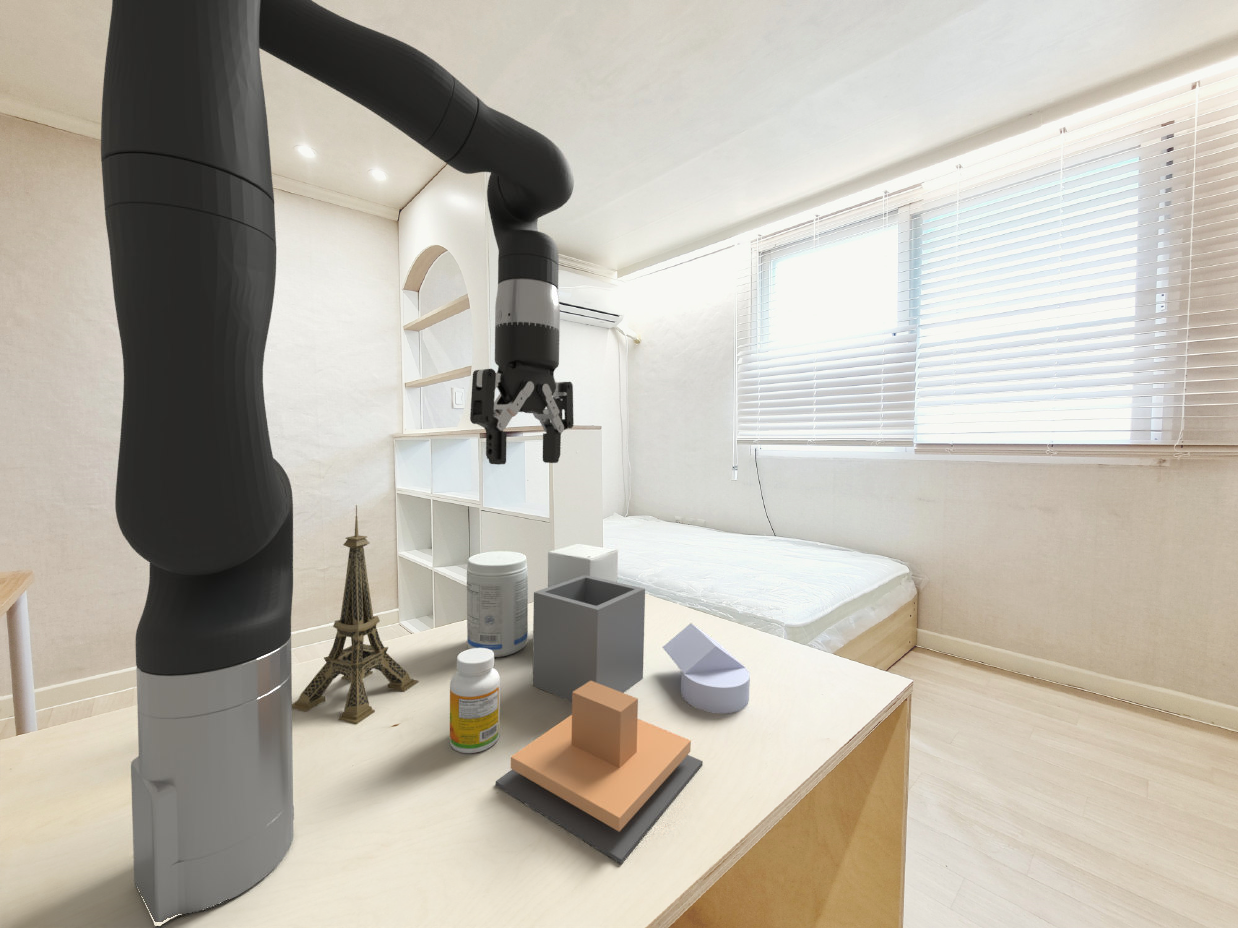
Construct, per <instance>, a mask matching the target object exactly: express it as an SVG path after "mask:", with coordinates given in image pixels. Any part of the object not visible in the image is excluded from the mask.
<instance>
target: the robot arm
mask: <svg viewBox="0 0 1238 928" xmlns="http://www.w3.org/2000/svg"><path fill="white" fill-rule="evenodd" d="M111 2H112V3H111V4H112V5H111V14H110V21H109V29H108V38H107V47H106V55H105V63H104V72H103V73H104V75H103V86H102V98H101V99H102V100H101V117H100V118H101V123H100V125H101V127H100V128H101V129H100V159H101V175H102V190H103V191H102V192H103V203H104V216H105V224H106V225H105V227H106V233H107V239H108V240H107V241H108V247H109V257H110V258H109V259H110V269H111V271H110V272H111V280H112V291H113V298H114V300H113V301H114V306H115V313H116V320H117V326H118V327H117V328H118V331H119V338H120V345H121V354H122V363H123V364H122V365H123V366H122V369H123V397H122V398H123V399H122V410H121V411H122V412H121V425H120V438H119V449H118V461H117V472H116V483H115V495H114V497H115V499H114V500H115V501H114V502H115V505H114V506H115V507H114V509H115V514H116V515H115V516H116V519H117V523H118V527H119V529H120V531H121V534H122V535H123V537H124V538H125V540H126V541H127V543H128V544H129V546H130V547H131V549H133V551H135V552H136V553H137V555H139V556H140V557H141V558H143V559H144V560H146V561H147V563H149V575H148V576H149V578H148V580H149V581H148V582H149V583H148V588H147V594H146V599H145V604H144V606H143V607H144V608H143V610H142V614H141V616H140V619H139V622H138V624H137V628H136V632H135V645H134V646H135V665H136V669H135V670H136V694H137V695H136V699H137V732H138V733H137V738H138V740H137V741H138V743H137V744H138V756H137V757H135V758H134V759H133V760H132V761H131V762H130V763H131V764H130V781H131V783H130V785H131V786H130V787H131V808H132V809H131V811H132V812H131V813H132V815H131V816H132V818H131V819H132V846H133V847H132V851H133V882H134V881H135V883H134V885H135V884H136V885H137V887H138V889H139V891H140V894H141V896H142V897H143V899H144V901H145V903H146V905H147V907H148V909H149V911H150V913H151V915H152V917H153V919H154V921H155V922H163V921H164V920H166V919H167V918H171V917H173V916H175V915H178V914H185V915H187V914H186V913H189V914H193V913H197V912H200V911H199V910H202V911H204V910H203V909H205V910H207V909H206V908H207V907H210V908H213V907H214V906H213V905H216V904H219V903H220V902H223V901H225V900H226V899H229V900H231V899H233V898H236V897H237V896H239V895H241V894H242V893H244V892H246V891H247V890H249V889H251V888H252V887H254V886H255V885H256V884H258V883H259V882H260V881H261V880H264V878H266V876H268V875H269V874H270V873H271V872H272V871H273V870H274V869H275V868H276V867H278V865H279V864H280V862H281V861H282V860H283V859H284V858H285V856H286V855H287V853H288V852H289V850H290V848H291V845H292V842H293V839H294V820H295V819H294V818H295V807H294V771H293V770H294V768H293V767H294V765H293V762H294V760H293V756H294V755H293V754H294V753H293V751H294V750H293V709H292V704H293V694H292V693H293V690H292V689H293V688H292V687H293V686H292V684H293V683H292V682H293V681H292V679H293V677H292V676H293V675H292V668H293V667H292V664H293V663H292V609H293V595H294V503H293V501H294V500H293V491H292V485H291V481H290V479H289V476H288V474H287V472H286V471H285V469H284V467H283V465H281V464H280V463H279V462H278V461H277V460H276V459H275V458H274V455H273V450H272V449H273V448H272V445H271V438H270V432H269V426H268V419H267V410H266V404H265V393H264V362H265V361H264V360H265V359H264V358H265V351H266V346H267V339H268V334H269V329H270V323H271V319H272V312H273V306H274V305H273V304H274V298H275V287H276V276H277V240H276V239H277V236H276V235H277V234H276V232H277V231H276V213H275V196H274V194H275V193H274V184H273V175H272V173H273V172H272V162H271V150H270V148H271V147H270V138H269V137H270V136H269V125H268V115H267V107H266V100H265V90H264V83H263V74H262V66H261V57H260V56H261V55H260V50H262V51H263V52H265V53H266V54H269V55H271V56H273V57H275V58H276V59H278V60H280V61H282V62H284V63H286V64H287V65H290V66H291V67H293V68H295V69H297V70H298V71H301V72H302V73H304V74H305V75H308V76H309V77H311V78H313V79H316V81H319V82H320V83H322V84H324V85H326V86H328V87H329V88H330V89H331V88H332V89H333V90H335V91H336V92H339V93H340V94H342V95H343V96H346V97H347V98H349V99H350V100H352V101H354V102H356V103H357V104H358V105H361V106H362V107H364V108H366V109H368V110H369V111H370V112H373V113H374V114H375V115H377V116H379V117H380V118H381V119H383V120H385V121H386V122H387V123H389V124H390V125H392V126H393V127H394V128H396V129H398V130H399V131H400V132H402V133H404V134H405V135H406V136H408V137H409V138H410V139H412V140H413V141H415V142H416V143H417V144H418V145H420V146H421V147H423V148H424V149H425V150H427V151H429V152H430V153H431V154H433V155H434V156H435V157H437V158H438V159H440V160H441V161H442V162H444V163H445V164H447V165H448V166H449V167H451V168H452V169H455V170H456V171H458V172H460V173H462V174H467V175H471V174H478V173H490V174H489V177H488V181H487V189H486V197H487V199H486V200H487V206H488V211H489V215H490V220H491V225H492V230H493V234H494V239H495V242H496V245H497V249H498V250H497V251H498V257H497V258H498V259H497V262H498V263H497V292H496V297H495V304H494V305H495V308H494V309H495V310H494V311H495V312H494V316H495V318H494V320H495V321H494V363H495V364H496V365H497V371H495V370H494V369H493V368H485V369H475V370H473V373H472V384H471V400H470V415H469V418H470V419H469V420H470V422H471V423H472V424H473V425H477V426H479V427H481V428H484V430H485V433H486V434H485V456H486V459H487V460H488V462H489V464H490V465H498V466H499V465H506V463H507V433H508V432H507V431H504V430H505V429H506V428H507V427H508V425H509V423H510V421H511V420H512V418H513V417H516V416H517V415H518V414H519V413H525V414H532V415H533V417H534V418H535V419H537V420H538V421H539V423H540V424H541V427H542V428H543V430H544V432H545V433H542V461H543V463H545V464H558V462H559V461H560V457H561V448H562V447H561V444H562V443H561V439H562V436H561V435H562V433H563V432H564V431H566V430H568V429H572V428H573V427H574V425H575V424H574V421H575V420H574V388H573V387H574V385H573V383H572V382H571V381H559V382H557V381H556V379H555V376H554V373H555V371H556V369H557V368H558V367H559V365H560V332H561V331H560V330H561V329H560V325H561V324H560V322H561V320H560V318H561V309H560V308H561V306H560V299H559V266H560V265H559V248H558V246H557V243H556V241H555V240H554V239H553V238H552V237H551V236H550V235H548V234H546V233H545V232H542V231H539V230H538V221H539V219H540V218H541V217H544V216H546V215H548V214H550V213H552V212H554V211H557V210H559V209H560V208H562V207H563V206H564V205H565V204H567V202H569V200H570V199H571V197H572V194H573V191H574V182H575V181H574V175H573V170H572V167H571V165H570V163H569V161H568V159H567V158H566V156H565V154H564V152H562V150H561V148H559V147H558V146H557V145H556V144H555V142H553V141H552V140H551V139H549V138H548V137H547V136H545V135H544V134H542V133H541V132H539V131H538V130H535V129H534V128H533V127H529V126H528V125H526V124H524V123H522V122H521V121H518V120H517V119H515V118H513V117H511V116H510V115H508V114H505V113H503V112H500V111H498V110H496V109H494V108H492V107H490V106H488V105H487V104H485V102H484V101H482V100H481V98H480V97H478V96H477V95H476V94H475V93H474V92H473V91H471V90H470V89H469V88H467V86H466V85H464V84H463V83H462V82H461V81H460V80H458V79H457V78H456V77H455V76H453V74H451V73H450V72H449V71H448V70H447V69H445V67H443V66H442V65H440V63H438V62H437V61H436V60H434V59H433V58H431V57H430V56H429V55H427V54H425V53H424V52H422V51H420V50H419V49H417V48H416V47H413V46H412V45H410V44H407V43H405V42H404V41H402V40H399V39H397V38H394V37H392V36H390V35H387V34H384V33H382V32H379V31H376V30H374V29H371V28H370V27H366V26H364V25H361V24H359V23H356V22H355V21H352V20H350V19H348V18H345V17H343V16H341V15H339V14H337V13H335V12H333V11H331V10H329V9H327V8H325V7H324V6H321V5H320V4H319V3H316V2H315V1H313V0H112V1H111ZM496 389H497V390H498V392H499V393H498V396H497V397H496V399H495V395H496V393H495V392H496ZM563 413H564V418H563ZM136 885H135V886H136ZM137 887H136V888H137ZM138 889H137V890H138ZM139 891H138V892H139ZM140 894H139V895H140ZM141 896H140V897H141ZM225 902H226V901H225ZM223 903H224V902H223ZM219 905H220V904H219ZM212 906H213V907H212ZM216 906H217V905H216ZM194 911H195V912H194ZM192 912H193V913H192Z"/></svg>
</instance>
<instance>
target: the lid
mask: <svg viewBox="0 0 1238 928" xmlns="http://www.w3.org/2000/svg"><path fill="white" fill-rule="evenodd" d="M638 711H639V698H637V697H635V696H632V695H630V694H627V693H625V692H623V693H622V692H619V691H617V690H614V689H612V688H609V687H606V686H604V685H601V684H598V683H596V682H593V681H589V682H588V683H586V684H584V685H583V686H581V687H580V688H578V689H576V690H575V691H573V692H572V702H571V714H570V715H569V716H568V717H566V718H565V719H563V720H562V721H560V722H559V723H558V724H556V725H555V726H553V727H552V728H550V729H549V730H547V731H546V732H544V733H543V734H542V735H540V736H538V737H537V738H536V739H534V740H532V742H530V743H528V744H527V745H526V746H524V747H523V748H521V749H519V750H518V751H517V752H516V753H514V754H513V755H511V756H510V769H511V770H514V771H516V772H518V773H519V774H521V775H523V776H524V777H526V778H528V779H530V780H531V781H533V782H535V783H536V784H538V785H540V786H542V787H543V788H545V789H547V790H548V791H550V792H552V793H554V794H555V795H557V796H559V797H560V798H562V799H564V800H566V801H567V802H569V803H571V804H573V805H574V806H576V807H578V808H579V809H581V810H583V811H585V812H586V813H588V814H590V815H591V816H593V817H595V818H597V819H598V820H600V821H602V822H603V823H605V824H607V825H609V826H610V827H612V828H614V829H615V830H617V831H619V832H620V831H621V829H622V828H623V827H624V826H625V825H626V824H627V823H628V821H629V820H630V819H631V818H632V817H633V816H634V815H635V814H636V812H637V811H638V810H639V809H640V808H641V807H642V806H643V805H644V803H645V802H646V801H647V800H648V799H649V798H650V797H651V796H652V794H653V793H654V792H655V791H656V790H657V789H658V788H659V786H660V785H661V784H662V783H663V782H664V781H665V780H666V779H667V777H668V776H669V775H670V774H671V773H672V772H673V771H674V770H675V768H676V767H677V766H678V765H679V764H680V763H681V762H682V761H683V759H684V758H685V757H686V756H687V755H690V753H691V748H692V747H691V744H692V743H691V741H692V740H690V739H688V738H686V737H684V736H681V735H679V734H676V733H673V732H672V731H670V730H666V729H663V728H662V727H660V726H657V725H655V724H652V723H649V722H647V721H645V720H642V719H639V718H638V716H639V715H638V713H639V712H638Z"/></svg>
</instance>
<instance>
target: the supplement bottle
mask: <svg viewBox="0 0 1238 928" xmlns="http://www.w3.org/2000/svg"><path fill="white" fill-rule="evenodd" d="M500 705H501V677H500V673H499V672H498V670H497V669H495V657H494V653H493V651H492V650H490V649H486V648H473V649H469V648H468V649H466V650H464V651H461V652H459V654H458V655H457V657H456V673H455V674H454V675H453V676H451V679H450V682H449V743H450V746H451V747H452V749H453V750H455V751H457V752H459V753H462V754H463V753H464V754H473V753H474V754H475V753H480V752H483V751H485V750H486V751H487V749H489V748H491V747H492V746H494V745H495V744H496V743H497V741H498V740H499V737H500V728H501V727H500V725H501V724H500V722H501V721H500V720H501V719H500V718H501V717H500V716H501V715H500V714H501V706H500Z"/></svg>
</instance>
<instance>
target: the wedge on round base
mask: <svg viewBox="0 0 1238 928" xmlns="http://www.w3.org/2000/svg"><path fill="white" fill-rule="evenodd" d="M662 649H663V650H664V651H665V652H666V653H667V655H668V656H669V657H670V659H671V660H672V661H673V663H674V664H675V665H676V666H677V667H678V668H679V670H680V671H681V672H680V673H681V674H680V675H681V676H680V679H681V680H680V695H681V694H682V695H681V697H682V696H683V697H682V699H683V698H684V699H685V700H684V699H683V700H684V701H685V702H686V701H687V702H688V703H687V702H686V703H687V704H689V705H690V704H691V705H690V706H692V707H694V708H695V707H696V708H695V709H698V710H701V711H704V712H707V713H713V714H730V713H731V714H732V713H736V712H737V713H738V712H740V711H742V710H743V709H745V708H746V707H747V706H748V705H749V703H750V687H751V686H750V685H751V684H750V681H751V680H750V679H751V674H750V672H749V670H748V668H746V666H745V665H744V664H742V663H741V662H740V661H739V660H738V659H737V658H736V657H735V656H733V654H731V653H730V651H728V650H727V649H726V648H725V647H723V646H722V644H720V643H719V642H718V641H717V640H716V639H714V638H712V637H711V636H710V635H709V634H707V633H705V632H704V631H703V630H701V629H700V628H699V627H697V626H696V625H694V624H693V623H692V622H690V623H689V624H688V625H686V626H685V627H684V628H683V629H682V630H681V631H679V632H678V634H676V635H675V636H673V638H671V639H670V640H668V641H667V642H666V643H665V644H664V645H663V646H662ZM748 702H749V703H748Z"/></svg>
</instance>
